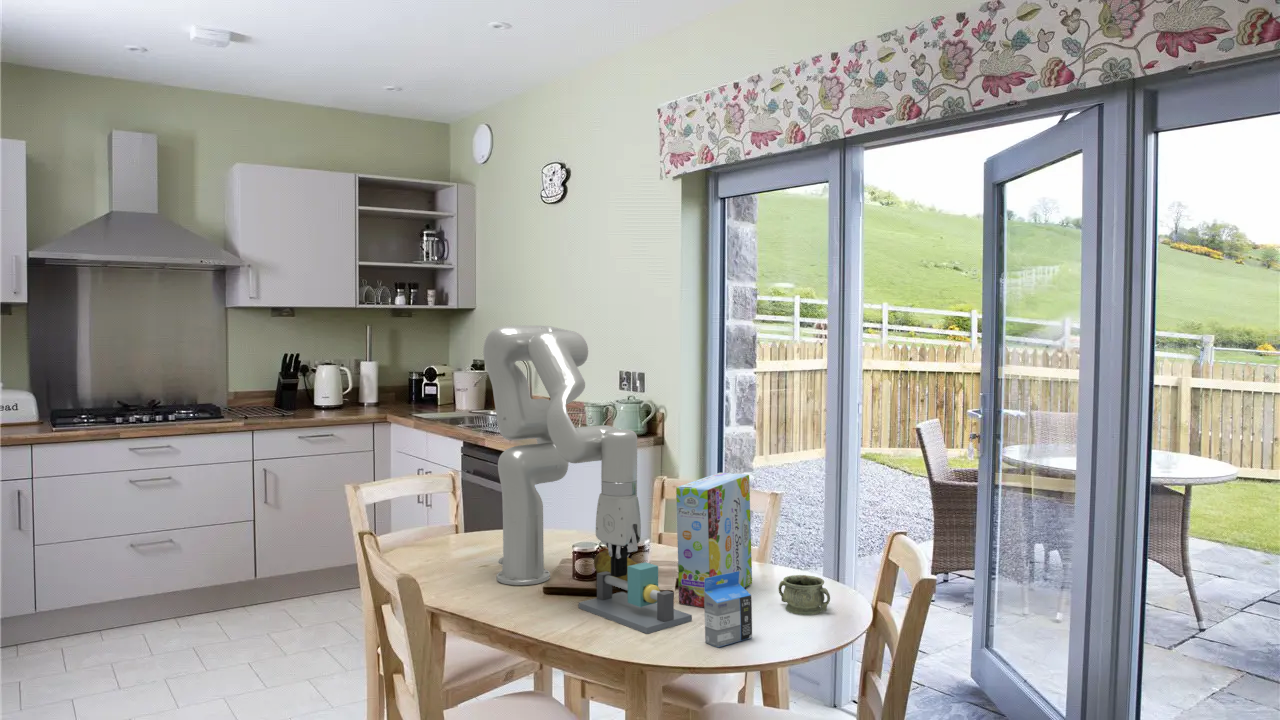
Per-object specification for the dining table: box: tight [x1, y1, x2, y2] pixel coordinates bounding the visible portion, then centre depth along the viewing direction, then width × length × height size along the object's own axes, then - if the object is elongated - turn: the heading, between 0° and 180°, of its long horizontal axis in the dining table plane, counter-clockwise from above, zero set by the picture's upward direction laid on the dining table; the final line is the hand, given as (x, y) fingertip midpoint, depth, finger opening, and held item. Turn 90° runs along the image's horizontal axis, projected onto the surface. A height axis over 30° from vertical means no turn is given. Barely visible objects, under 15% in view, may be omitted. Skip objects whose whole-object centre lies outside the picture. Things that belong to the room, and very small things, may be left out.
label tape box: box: [704, 571, 753, 648], centre depth 170 cm, size 9×4×12 cm, turn 126°
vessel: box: [778, 574, 831, 616], centre depth 190 cm, size 12×9×6 cm
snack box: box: [675, 472, 753, 608], centre depth 201 cm, size 22×9×26 cm, turn 149°
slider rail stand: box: [578, 571, 693, 635], centre depth 187 cm, size 22×12×7 cm, turn 41°
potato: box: [593, 549, 638, 581], centre depth 208 cm, size 8×13×8 cm, turn 44°
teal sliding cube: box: [627, 561, 659, 607], centre depth 184 cm, size 4×5×8 cm
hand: (618, 575), depth 190 cm, fingers closed
